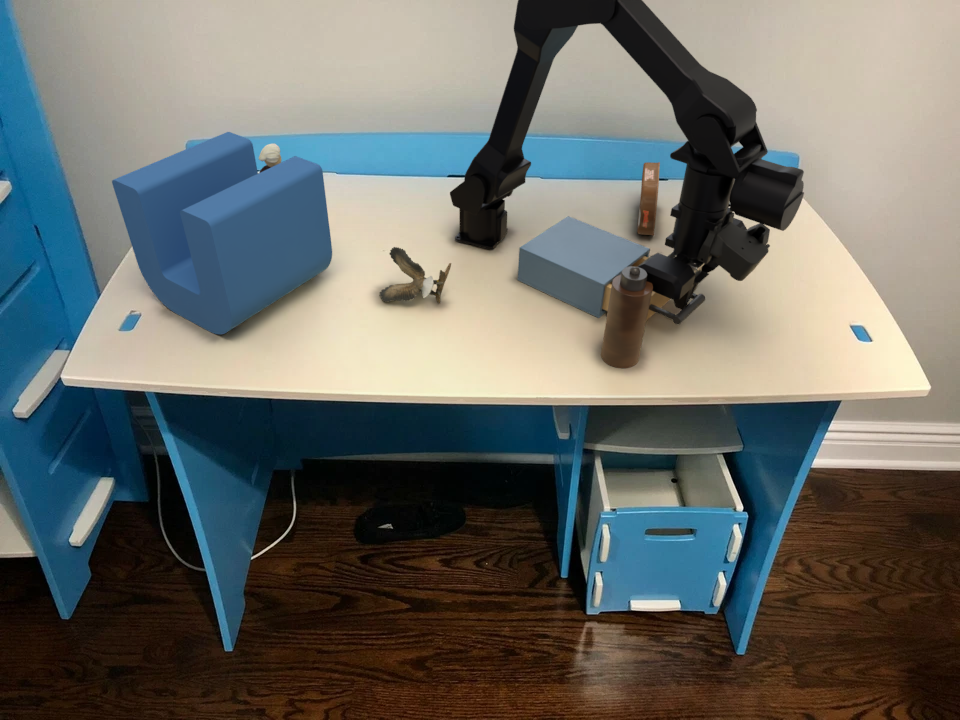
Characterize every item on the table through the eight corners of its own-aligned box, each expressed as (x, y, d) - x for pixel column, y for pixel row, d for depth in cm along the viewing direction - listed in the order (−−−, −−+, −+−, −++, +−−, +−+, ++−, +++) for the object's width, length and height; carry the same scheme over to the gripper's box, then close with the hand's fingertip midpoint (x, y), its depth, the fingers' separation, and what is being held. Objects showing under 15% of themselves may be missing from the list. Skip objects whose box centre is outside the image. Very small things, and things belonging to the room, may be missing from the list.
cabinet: (644, 281, 110) (650, 248, 106) (598, 318, 103) (603, 284, 99) (564, 247, 117) (568, 215, 113) (517, 280, 110) (519, 247, 106)
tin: (652, 245, 118) (662, 196, 112) (632, 243, 118) (640, 194, 113) (655, 200, 129) (664, 154, 124) (636, 198, 129) (644, 152, 124)
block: (336, 283, 108) (321, 165, 97) (238, 347, 97) (209, 222, 85) (248, 243, 116) (225, 130, 104) (148, 298, 104) (110, 178, 93)
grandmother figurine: (308, 221, 121) (297, 146, 113) (291, 231, 119) (279, 155, 111) (273, 208, 125) (260, 133, 116) (256, 217, 122) (241, 142, 114)
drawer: (708, 306, 104) (715, 282, 102) (670, 343, 98) (675, 318, 95) (598, 259, 113) (601, 236, 110) (556, 290, 106) (558, 266, 104)
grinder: (596, 362, 96) (609, 272, 87) (607, 340, 99) (621, 252, 91) (633, 372, 94) (650, 282, 86) (642, 350, 98) (660, 262, 89)
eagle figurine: (451, 274, 108) (391, 256, 109) (452, 254, 101) (388, 234, 102) (435, 322, 106) (374, 304, 106) (435, 305, 99) (369, 285, 100)
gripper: (732, 255, 81) (703, 367, 91) (799, 194, 92) (767, 299, 102) (641, 221, 87) (623, 330, 97) (715, 167, 98) (692, 270, 108)
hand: (680, 307), depth 101 cm, fingers closed, pressing on drawer
